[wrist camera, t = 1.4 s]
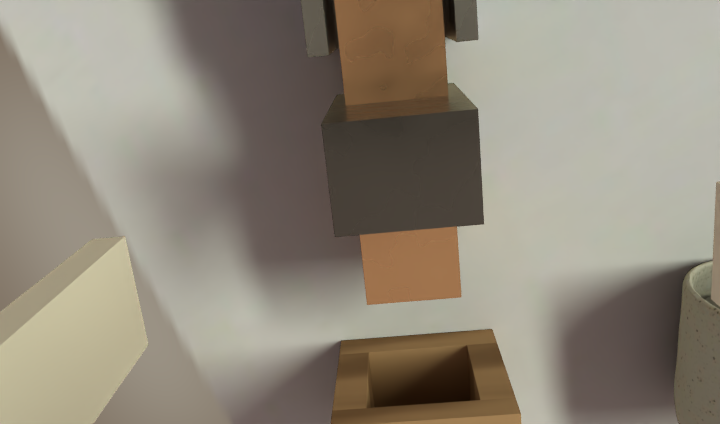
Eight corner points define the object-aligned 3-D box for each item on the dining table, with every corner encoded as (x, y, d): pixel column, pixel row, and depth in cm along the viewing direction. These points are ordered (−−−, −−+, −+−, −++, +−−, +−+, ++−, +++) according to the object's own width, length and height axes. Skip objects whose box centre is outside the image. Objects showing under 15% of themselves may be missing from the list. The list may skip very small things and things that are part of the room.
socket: (341, 340, 36) (330, 426, 28) (492, 329, 35) (520, 413, 28) (350, 418, 37) (342, 519, 30) (496, 408, 37) (524, 508, 29)
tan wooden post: (304, -195, 27) (273, -276, 19) (435, -212, 26) (456, -301, 19) (356, 270, 32) (348, 351, 25) (464, 261, 32) (490, 341, 24)
